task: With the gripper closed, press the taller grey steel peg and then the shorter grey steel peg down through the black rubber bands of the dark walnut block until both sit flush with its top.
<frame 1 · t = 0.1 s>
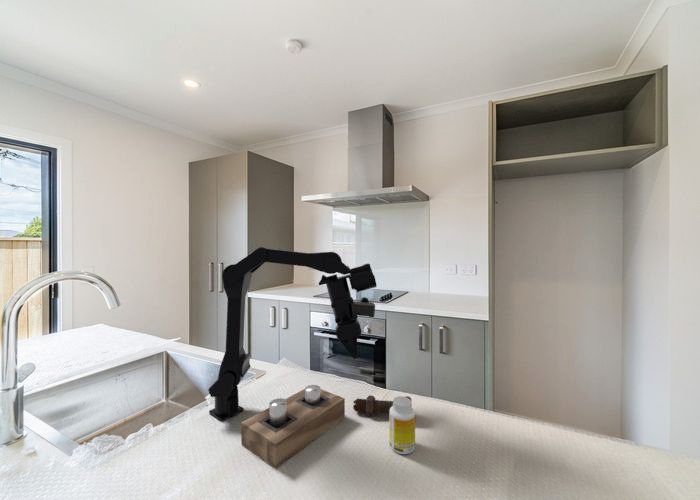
hand: (354, 351, 80), 15 cm above the countertop, tool pointing down, fingers open, 9 cm apart
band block: (296, 430, 71), on the countertop
bolt: (382, 416, 77), on the countertop
peg tall: (278, 413, 66), point 7 cm above the countertop, slide at 4.0 cm
supplement bottle: (402, 447, 64), on the countertop
peg short: (312, 397, 75), point 6 cm above the countertop, slide at 3.0 cm
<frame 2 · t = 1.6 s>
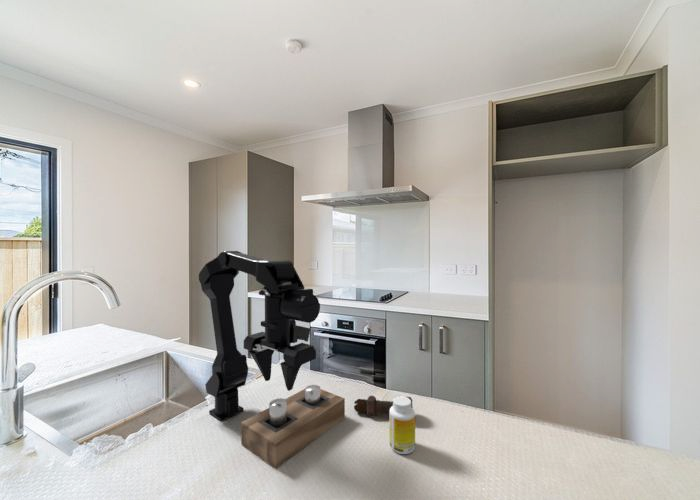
hand: (278, 385, 66), 13 cm above the countertop, tool pointing down, fingers open, 7 cm apart
nothing on the countertop moved.
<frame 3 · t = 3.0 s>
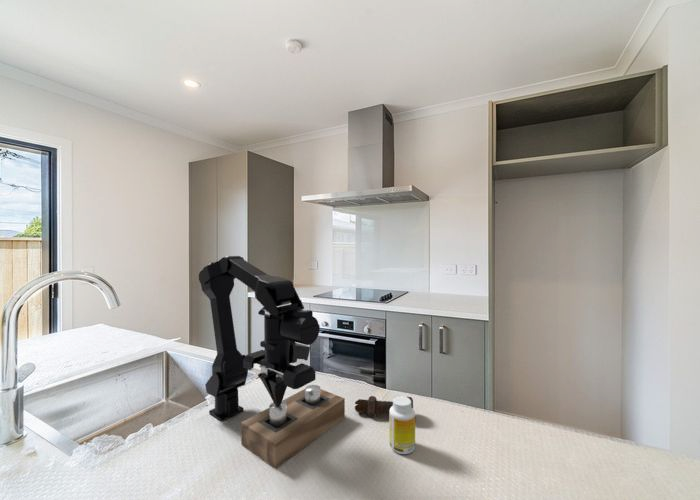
hand: (278, 405, 66), 8 cm above the countertop, tool pointing down, fingers closed, pressing on peg tall
peg tall: (278, 415, 66), point 6 cm above the countertop, slide at 3.5 cm, touching gripper
everything else where it was.
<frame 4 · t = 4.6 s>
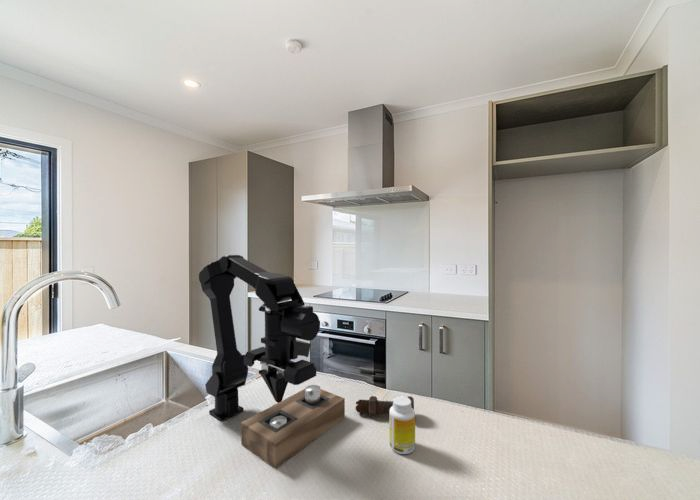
hand: (278, 401, 66), 9 cm above the countertop, tool pointing down, fingers closed
peg tall: (278, 431, 66), point 3 cm above the countertop, slide at -0.1 cm
everything else where it was.
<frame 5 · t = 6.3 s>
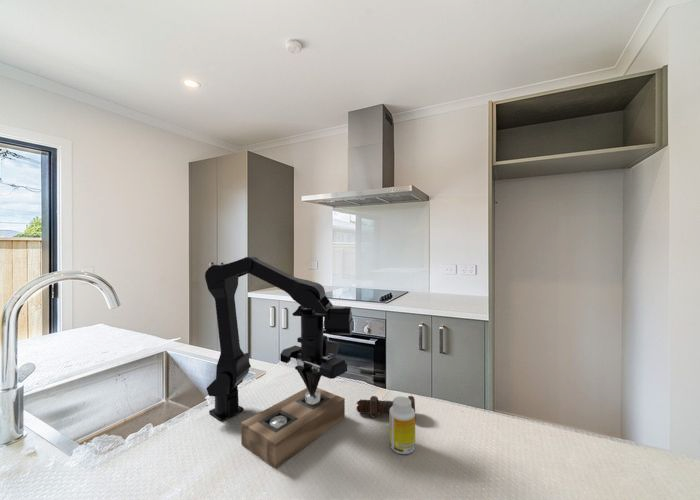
hand: (312, 393, 75), 7 cm above the countertop, tool pointing down, fingers closed, pressing on peg short
peg short: (312, 403, 75), point 4 cm above the countertop, slide at 1.6 cm, touching gripper
everything else where it was.
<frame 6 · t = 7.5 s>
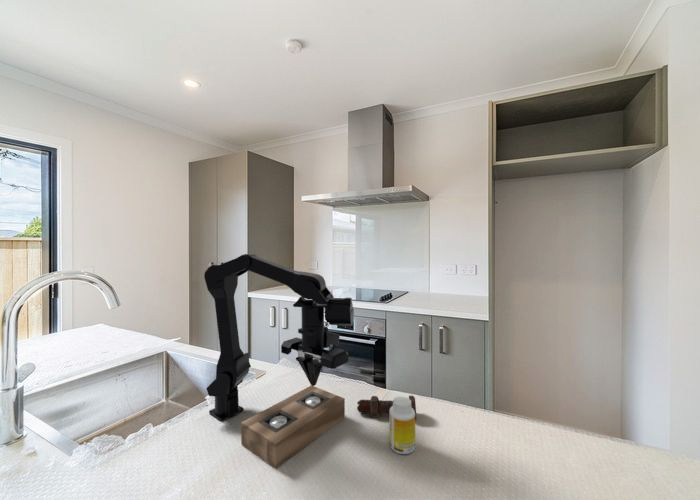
hand: (313, 385, 75), 9 cm above the countertop, tool pointing down, fingers closed
peg short: (312, 409, 75), point 3 cm above the countertop, slide at -0.1 cm
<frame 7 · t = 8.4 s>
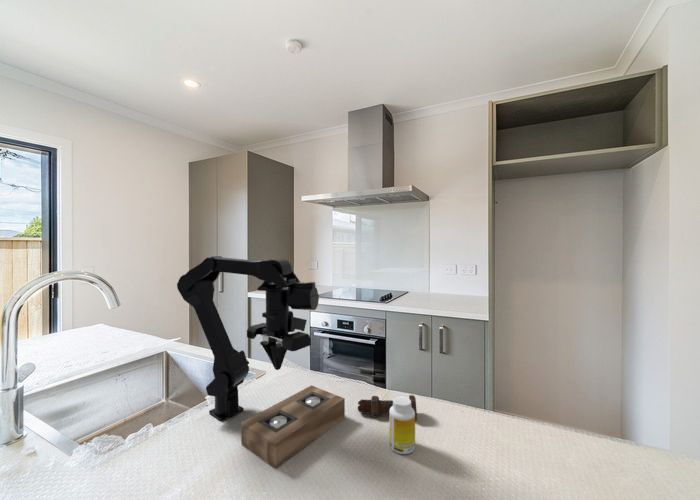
hand: (277, 369, 75), 13 cm above the countertop, tool pointing down, fingers closed
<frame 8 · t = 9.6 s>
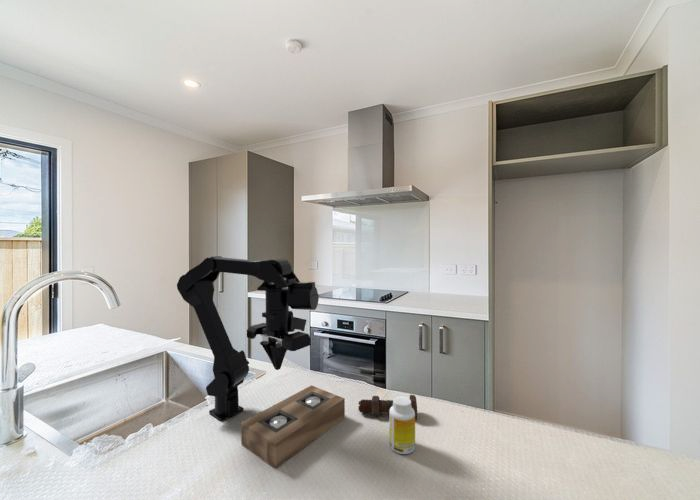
hand: (277, 369, 75), 13 cm above the countertop, tool pointing down, fingers closed
at the end: peg tall slide at -0.1 cm; peg short slide at -0.1 cm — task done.
